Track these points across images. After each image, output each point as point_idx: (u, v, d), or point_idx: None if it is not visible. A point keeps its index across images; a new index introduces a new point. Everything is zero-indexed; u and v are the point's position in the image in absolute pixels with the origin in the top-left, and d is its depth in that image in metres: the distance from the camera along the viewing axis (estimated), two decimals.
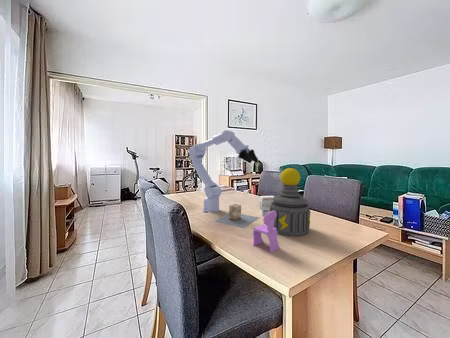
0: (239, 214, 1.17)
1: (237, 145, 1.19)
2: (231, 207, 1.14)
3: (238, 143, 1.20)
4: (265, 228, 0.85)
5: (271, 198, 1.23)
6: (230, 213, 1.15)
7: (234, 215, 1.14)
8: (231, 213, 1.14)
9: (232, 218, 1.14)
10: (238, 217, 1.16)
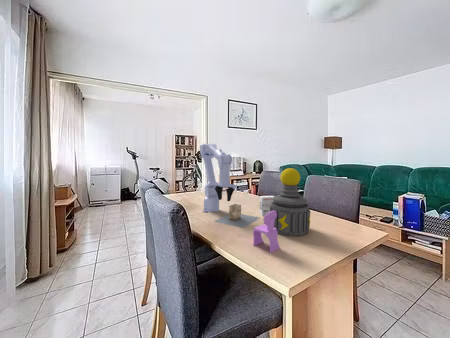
0: (239, 214, 1.17)
1: None
2: (231, 207, 1.14)
3: (219, 177, 1.19)
4: (265, 228, 0.85)
5: (271, 198, 1.23)
6: (230, 213, 1.15)
7: (234, 215, 1.14)
8: (231, 213, 1.14)
9: (232, 218, 1.14)
10: (238, 217, 1.16)
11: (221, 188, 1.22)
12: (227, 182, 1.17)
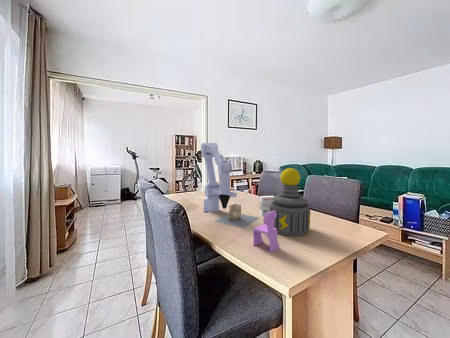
0: (239, 214, 1.17)
1: None
2: (231, 207, 1.14)
3: (219, 185, 1.19)
4: (265, 228, 0.85)
5: (271, 198, 1.23)
6: (230, 213, 1.15)
7: (234, 215, 1.14)
8: (231, 213, 1.14)
9: (232, 218, 1.14)
10: (238, 217, 1.16)
11: None
12: (227, 190, 1.17)
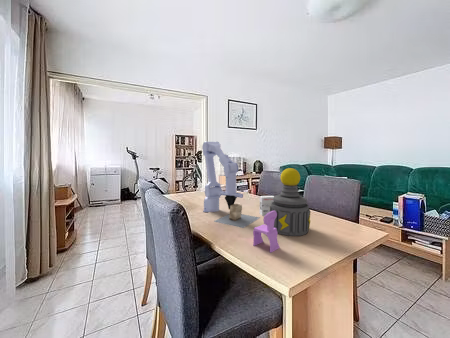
0: (239, 214, 1.17)
1: None
2: (232, 207, 1.14)
3: None
4: (265, 228, 0.85)
5: (271, 198, 1.23)
6: (231, 213, 1.15)
7: (234, 215, 1.14)
8: (232, 213, 1.14)
9: (232, 218, 1.14)
10: (238, 217, 1.16)
11: None
12: (233, 191, 1.15)
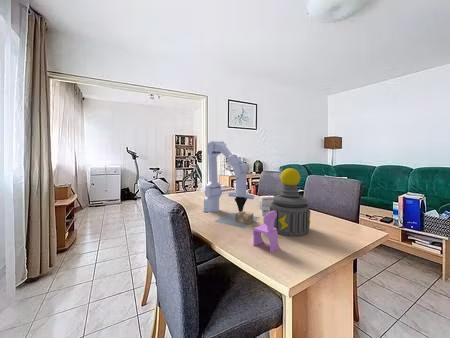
0: None
1: None
2: (247, 218, 1.10)
3: None
4: (265, 228, 0.85)
5: (271, 198, 1.23)
6: (241, 216, 1.11)
7: (240, 220, 1.12)
8: (241, 218, 1.11)
9: (237, 217, 1.13)
10: None
11: None
12: (244, 192, 1.12)
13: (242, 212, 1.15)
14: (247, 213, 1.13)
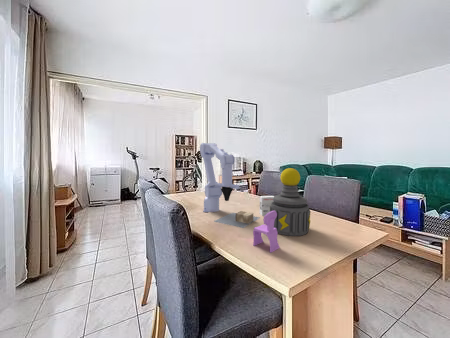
0: None
1: None
2: (247, 218, 1.10)
3: (222, 177, 1.18)
4: (265, 228, 0.85)
5: (271, 198, 1.23)
6: (241, 216, 1.11)
7: (240, 220, 1.12)
8: (241, 218, 1.11)
9: (237, 217, 1.13)
10: None
11: None
12: (230, 182, 1.16)
13: (242, 212, 1.15)
14: (247, 213, 1.13)
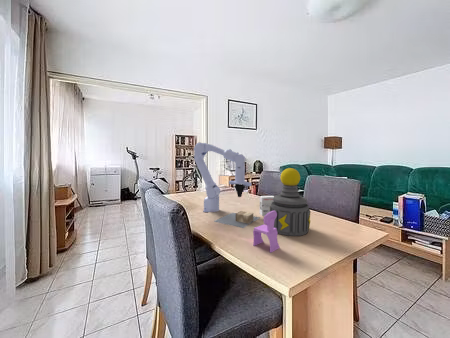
0: None
1: None
2: (247, 218, 1.10)
3: (235, 175, 1.28)
4: (265, 228, 0.85)
5: (271, 198, 1.23)
6: (241, 216, 1.11)
7: (240, 220, 1.12)
8: (241, 218, 1.11)
9: (237, 217, 1.13)
10: None
11: None
12: (242, 180, 1.27)
13: (242, 212, 1.15)
14: (247, 213, 1.13)
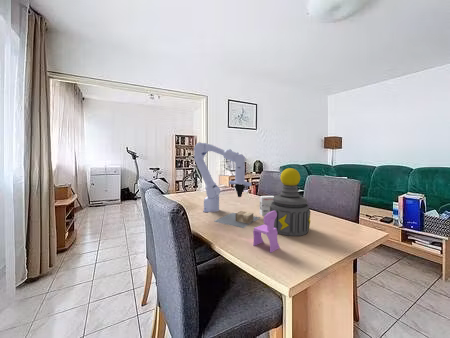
0: None
1: None
2: (247, 218, 1.10)
3: (235, 175, 1.28)
4: (265, 228, 0.85)
5: (271, 198, 1.23)
6: (241, 216, 1.11)
7: (240, 220, 1.12)
8: (241, 218, 1.11)
9: (237, 217, 1.13)
10: None
11: None
12: (242, 180, 1.27)
13: (242, 212, 1.15)
14: (247, 213, 1.13)
